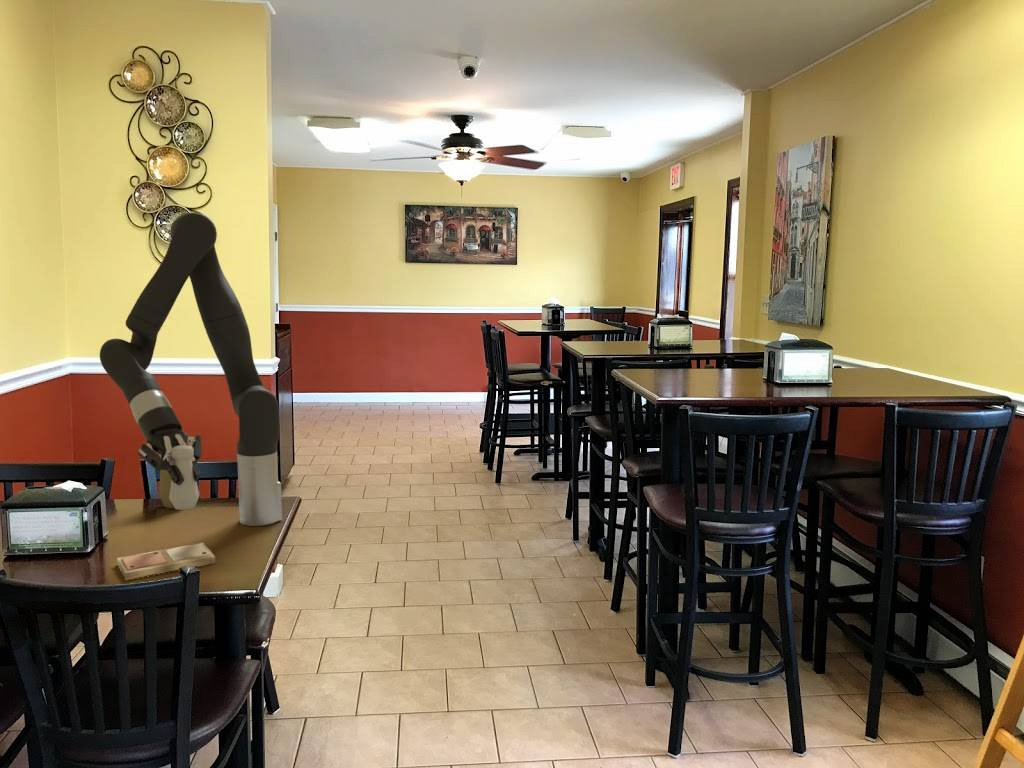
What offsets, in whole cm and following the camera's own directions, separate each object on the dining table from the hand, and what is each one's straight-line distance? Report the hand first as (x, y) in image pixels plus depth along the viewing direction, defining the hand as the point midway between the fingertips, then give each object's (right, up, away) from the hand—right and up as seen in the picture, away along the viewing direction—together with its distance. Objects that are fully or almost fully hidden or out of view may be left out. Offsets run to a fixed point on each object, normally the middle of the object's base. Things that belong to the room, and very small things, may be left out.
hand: (188, 480), depth 161 cm
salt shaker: (-2, -6, +2) cm, 6 cm away
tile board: (-5, -17, +1) cm, 18 cm away
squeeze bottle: (-20, -12, +41) cm, 48 cm away
